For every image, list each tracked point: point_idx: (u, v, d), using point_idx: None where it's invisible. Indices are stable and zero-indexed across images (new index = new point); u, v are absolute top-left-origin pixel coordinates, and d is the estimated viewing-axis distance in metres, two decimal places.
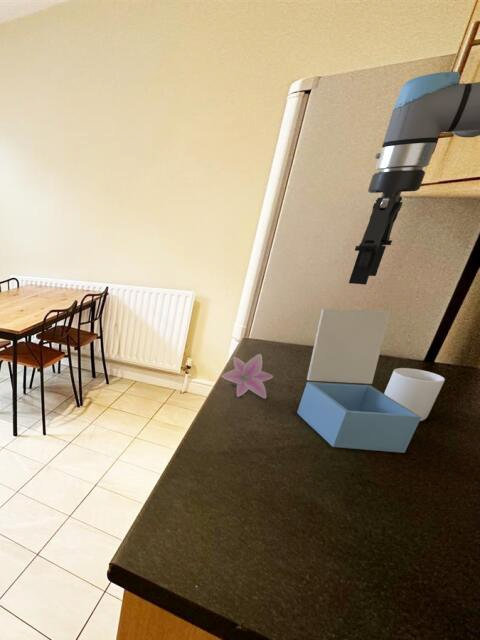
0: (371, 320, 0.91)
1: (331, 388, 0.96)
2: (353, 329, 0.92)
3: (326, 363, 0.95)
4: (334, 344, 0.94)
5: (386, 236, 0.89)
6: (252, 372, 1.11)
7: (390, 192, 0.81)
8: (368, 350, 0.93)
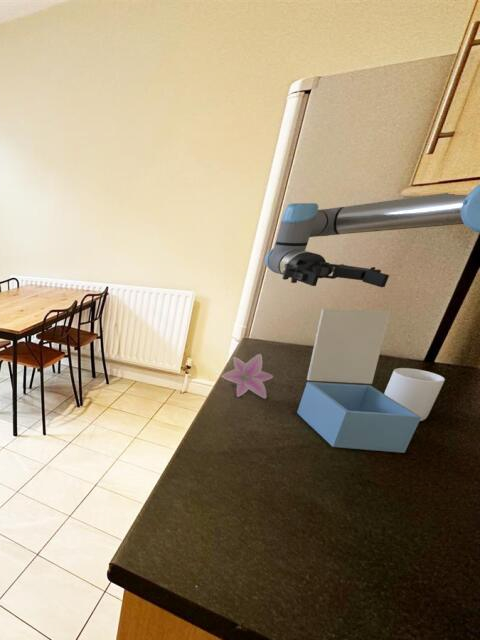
0: (371, 320, 0.91)
1: (331, 388, 0.96)
2: (353, 329, 0.92)
3: (326, 363, 0.95)
4: (334, 344, 0.94)
5: (357, 270, 1.00)
6: (252, 372, 1.11)
7: None
8: (368, 350, 0.93)
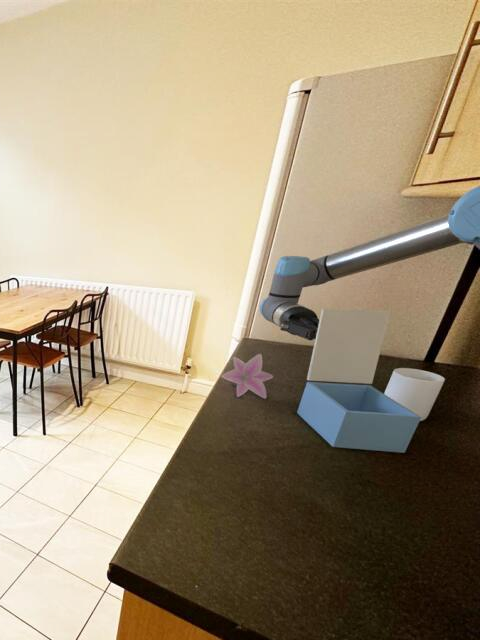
0: (371, 320, 0.91)
1: (331, 388, 0.96)
2: (353, 329, 0.92)
3: (326, 363, 0.95)
4: (334, 344, 0.94)
5: None
6: (252, 372, 1.11)
7: None
8: (368, 350, 0.93)
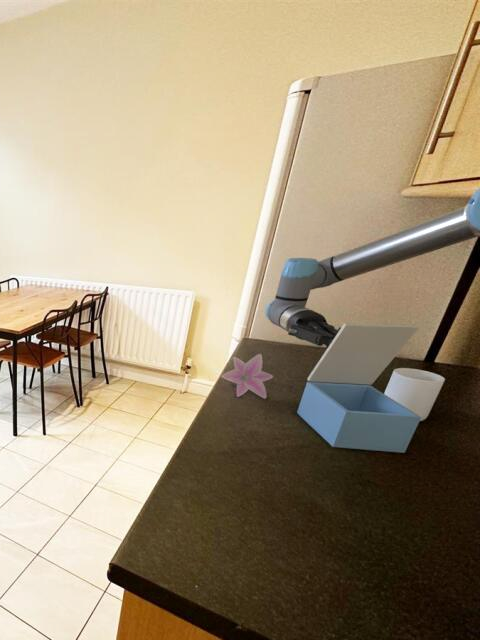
0: (394, 335, 0.85)
1: (331, 388, 0.96)
2: (371, 342, 0.87)
3: (331, 368, 0.93)
4: (345, 354, 0.90)
5: (336, 334, 0.98)
6: (252, 372, 1.11)
7: None
8: (379, 359, 0.89)
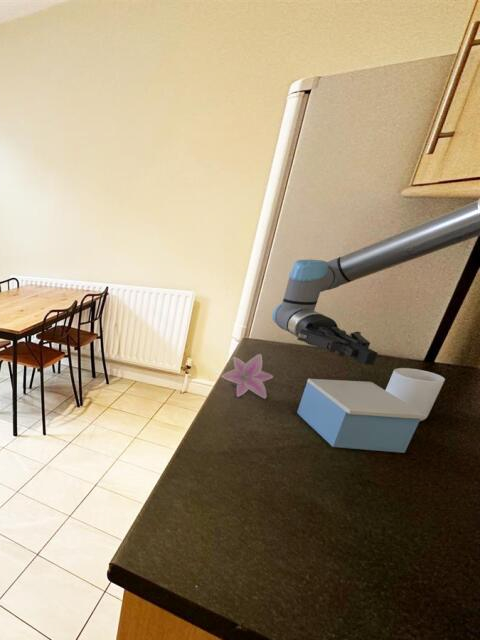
0: None
1: None
2: None
3: None
4: None
5: (349, 340, 0.94)
6: (252, 372, 1.11)
7: None
8: None
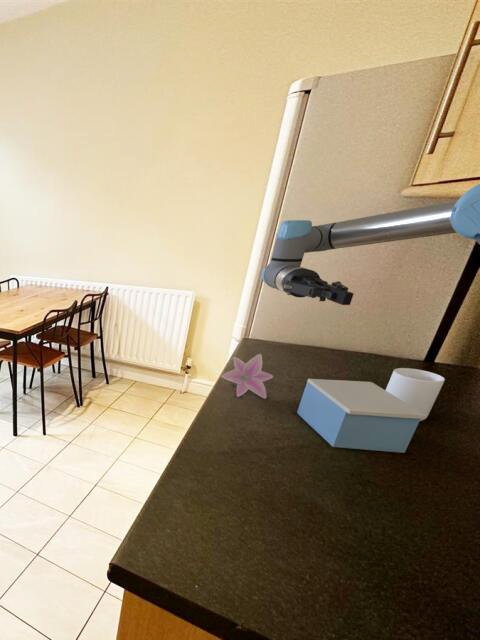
0: None
1: None
2: None
3: None
4: None
5: (329, 287, 1.02)
6: (252, 372, 1.11)
7: None
8: None
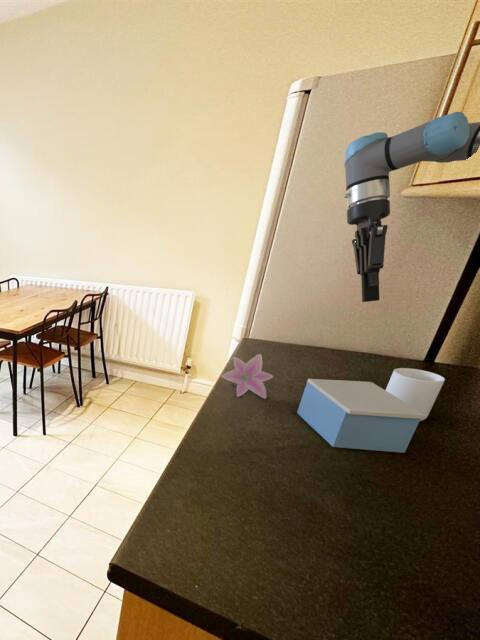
0: None
1: None
2: None
3: None
4: None
5: None
6: (252, 372, 1.11)
7: (375, 215, 0.97)
8: None
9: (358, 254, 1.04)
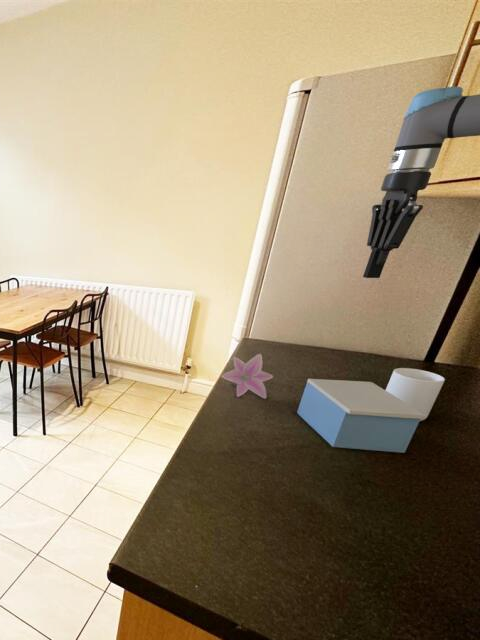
0: None
1: None
2: None
3: None
4: None
5: None
6: (252, 372, 1.11)
7: (414, 190, 0.92)
8: None
9: (375, 224, 1.01)
